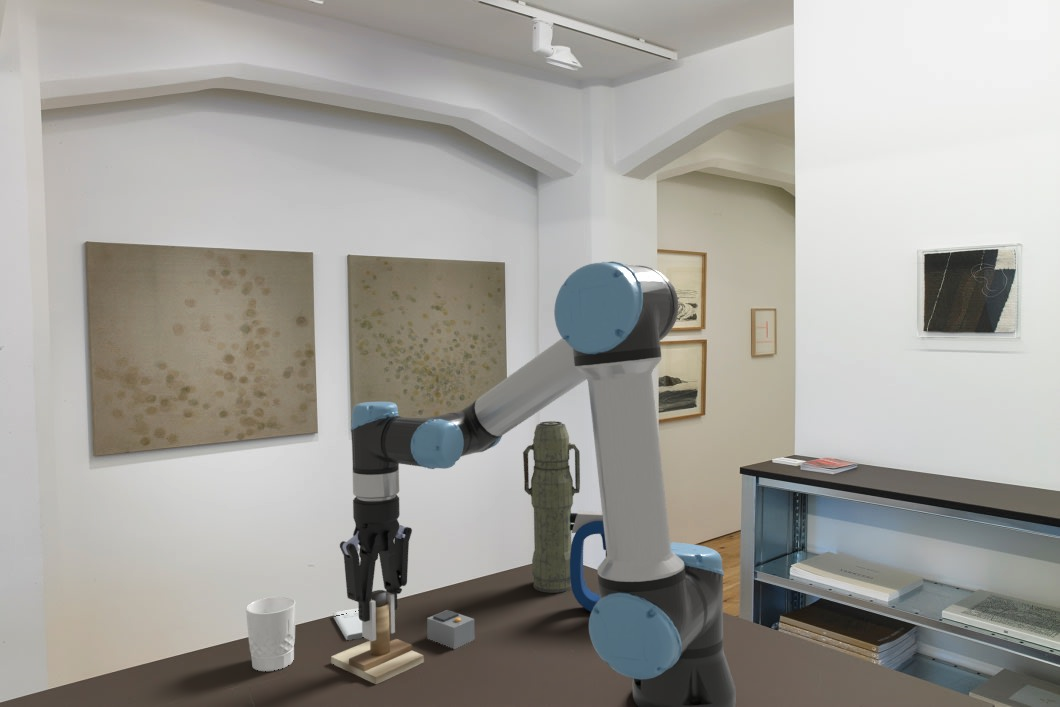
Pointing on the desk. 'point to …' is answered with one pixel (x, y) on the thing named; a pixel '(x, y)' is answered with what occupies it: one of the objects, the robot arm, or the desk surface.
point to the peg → (381, 625)
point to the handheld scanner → (582, 527)
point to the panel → (378, 661)
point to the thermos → (551, 505)
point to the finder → (450, 629)
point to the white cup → (271, 632)
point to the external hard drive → (349, 623)
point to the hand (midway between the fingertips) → (378, 634)
